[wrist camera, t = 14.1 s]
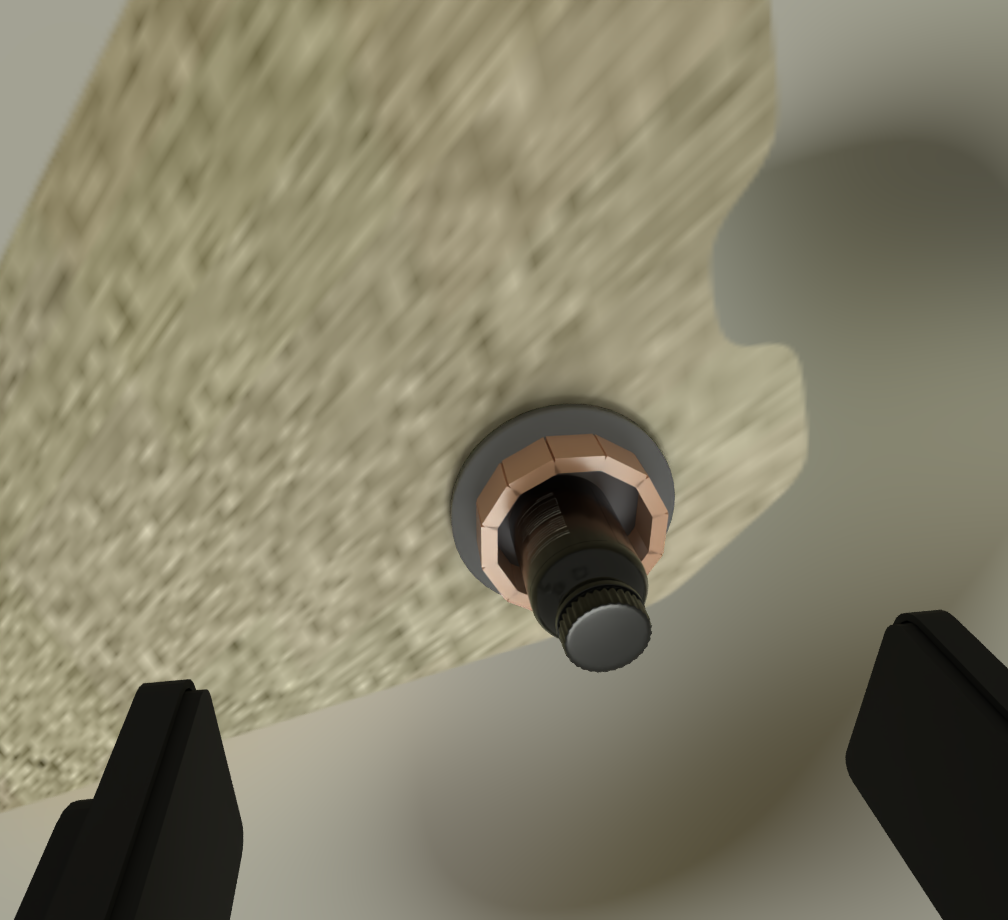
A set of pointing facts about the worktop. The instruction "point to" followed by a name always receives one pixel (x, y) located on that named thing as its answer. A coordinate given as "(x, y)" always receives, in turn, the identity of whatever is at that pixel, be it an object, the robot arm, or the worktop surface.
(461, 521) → the bottle holder
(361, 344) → the worktop surface
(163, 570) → the worktop surface
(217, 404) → the worktop surface
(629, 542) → the supplement bottle
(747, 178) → the worktop surface
